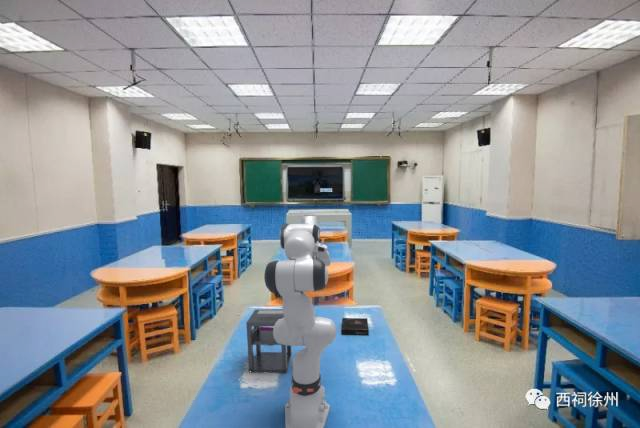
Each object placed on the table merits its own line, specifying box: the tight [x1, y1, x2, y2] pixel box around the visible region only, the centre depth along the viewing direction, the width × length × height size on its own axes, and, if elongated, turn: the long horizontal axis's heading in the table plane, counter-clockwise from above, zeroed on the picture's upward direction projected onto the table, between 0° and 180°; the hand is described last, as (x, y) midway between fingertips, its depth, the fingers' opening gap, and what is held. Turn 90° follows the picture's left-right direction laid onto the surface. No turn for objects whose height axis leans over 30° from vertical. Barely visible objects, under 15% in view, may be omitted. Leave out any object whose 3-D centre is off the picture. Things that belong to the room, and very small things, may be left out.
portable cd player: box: [341, 317, 369, 337], centre depth 199 cm, size 16×17×4 cm
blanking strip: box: [257, 310, 284, 317], centre depth 160 cm, size 4×24×2 cm, turn 86°
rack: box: [246, 308, 293, 374], centre depth 162 cm, size 16×20×26 cm
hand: (310, 274), depth 156 cm, fingers open, 8 cm apart
